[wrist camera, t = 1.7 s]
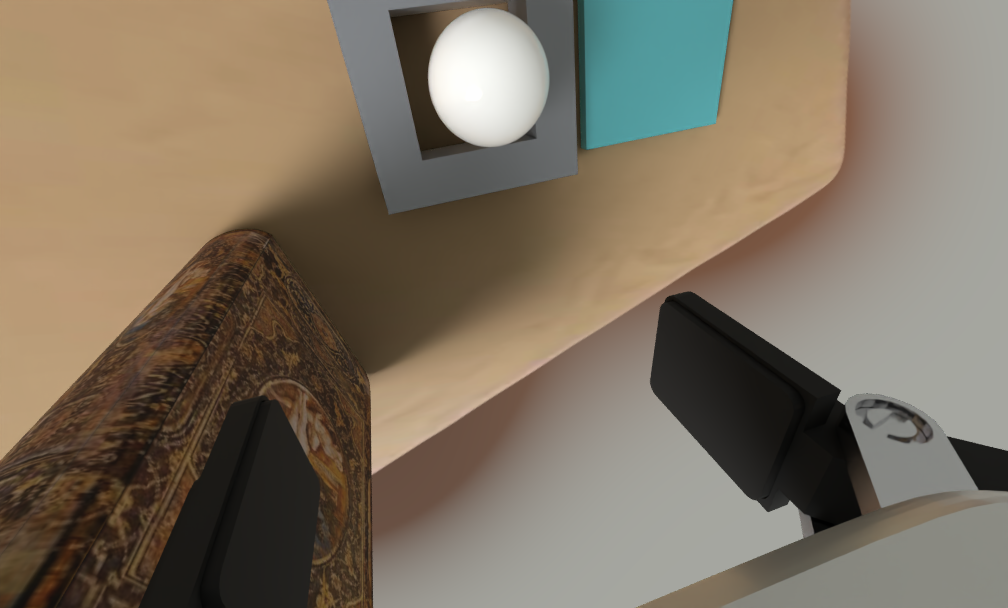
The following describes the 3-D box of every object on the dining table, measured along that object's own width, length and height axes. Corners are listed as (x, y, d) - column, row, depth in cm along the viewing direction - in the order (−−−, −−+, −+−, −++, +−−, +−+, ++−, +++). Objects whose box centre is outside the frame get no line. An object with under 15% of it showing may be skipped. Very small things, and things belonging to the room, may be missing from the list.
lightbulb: (392, 75, 26) (407, 75, 17) (460, 0, 25) (514, -42, 16) (459, 149, 30) (500, 182, 21) (520, 85, 29) (593, 90, 20)
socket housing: (317, -40, 23) (310, -58, 20) (547, -62, 25) (570, -80, 22) (386, 201, 30) (389, 214, 27) (558, 165, 33) (577, 174, 30)
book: (183, 248, 28) (-367, 775, 7) (260, 219, 28) (-35, 625, 7) (313, 402, 37) (246, 831, 16) (370, 378, 37) (376, 762, 16)
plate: (576, -45, 26) (583, -49, 25) (731, -61, 28) (742, -65, 27) (580, 147, 32) (586, 149, 32) (707, 122, 35) (715, 123, 34)
